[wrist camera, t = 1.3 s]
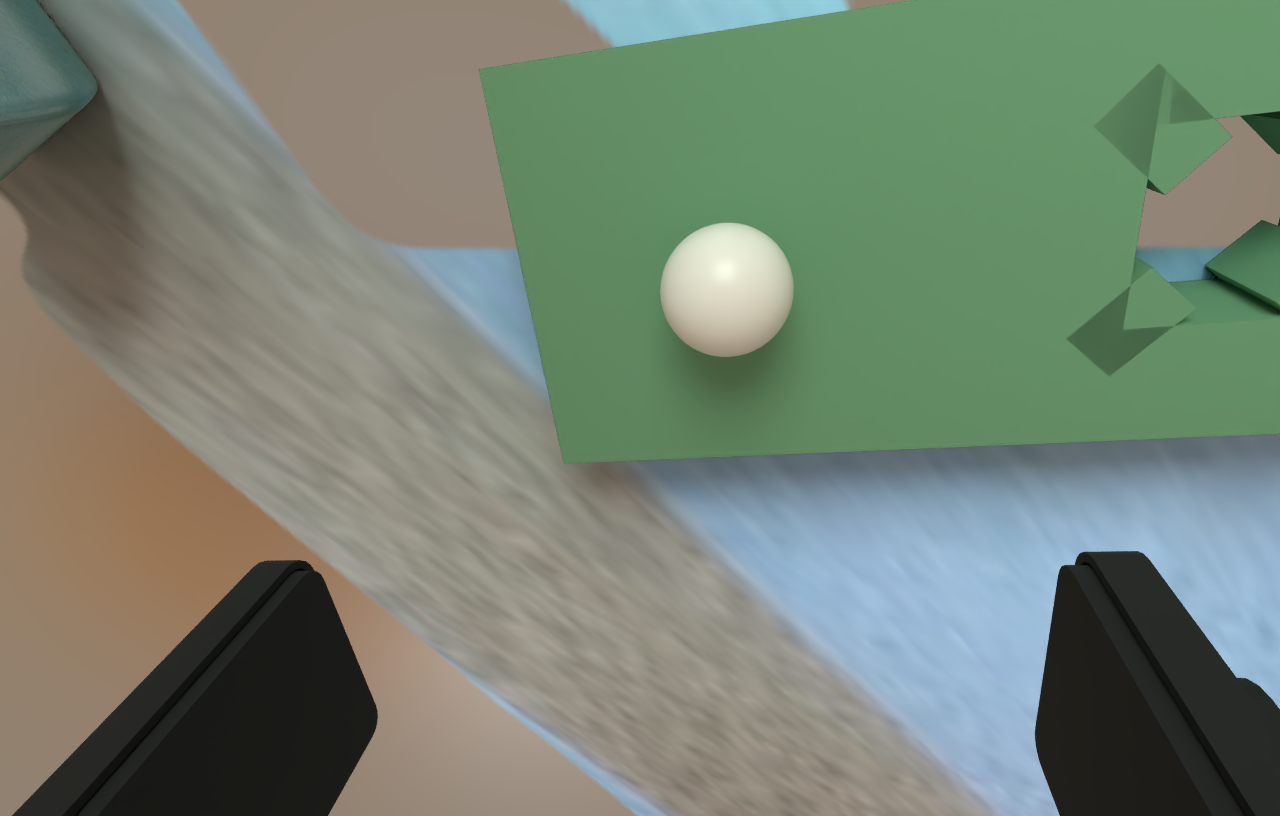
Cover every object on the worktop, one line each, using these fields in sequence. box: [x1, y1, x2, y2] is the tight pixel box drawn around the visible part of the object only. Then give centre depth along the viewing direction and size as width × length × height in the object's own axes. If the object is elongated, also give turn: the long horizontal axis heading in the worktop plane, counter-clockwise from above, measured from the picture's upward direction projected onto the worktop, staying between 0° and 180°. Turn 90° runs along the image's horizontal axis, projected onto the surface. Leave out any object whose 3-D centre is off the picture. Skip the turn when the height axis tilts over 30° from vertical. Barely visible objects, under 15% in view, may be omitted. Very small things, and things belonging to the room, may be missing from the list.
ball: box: [660, 223, 794, 357], centre depth 22 cm, size 4×4×4 cm
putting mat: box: [479, 0, 1280, 464], centre depth 18 cm, size 14×28×18 cm, turn 98°
